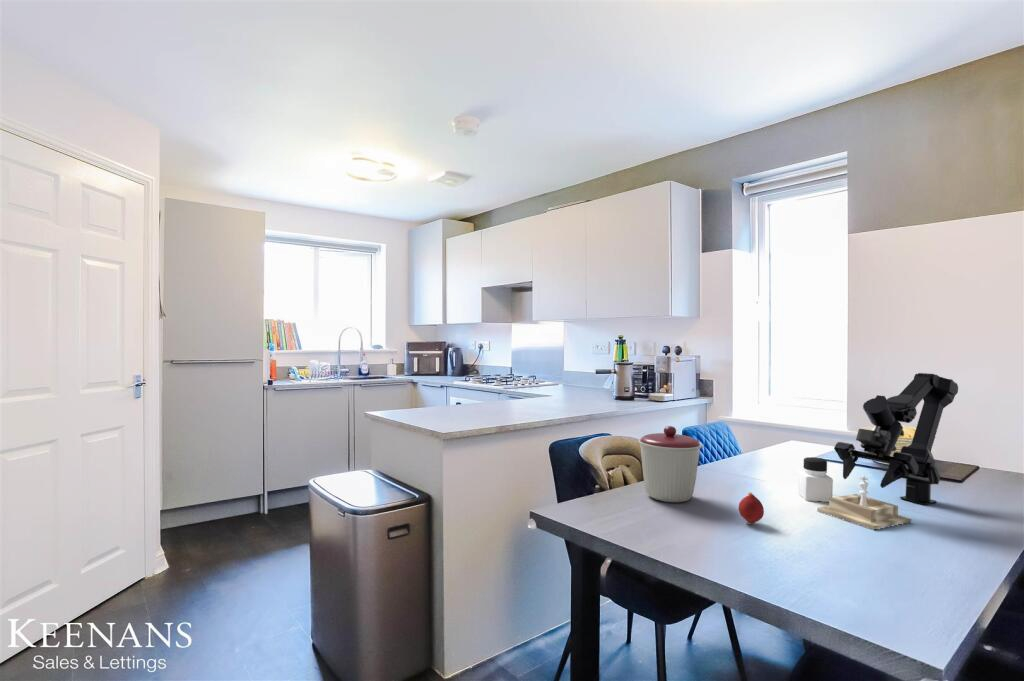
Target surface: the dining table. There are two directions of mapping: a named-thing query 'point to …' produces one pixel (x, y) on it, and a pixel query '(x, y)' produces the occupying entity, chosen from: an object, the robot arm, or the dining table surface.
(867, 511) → the socket block
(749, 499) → the onion
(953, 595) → the dining table surface
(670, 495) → the canister
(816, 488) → the medicine bottle
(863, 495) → the chess piece
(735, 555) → the dining table surface
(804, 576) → the dining table surface
